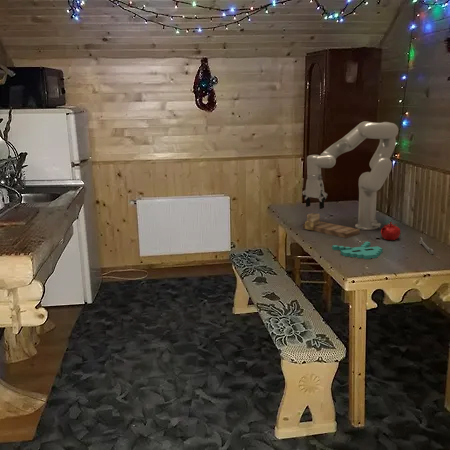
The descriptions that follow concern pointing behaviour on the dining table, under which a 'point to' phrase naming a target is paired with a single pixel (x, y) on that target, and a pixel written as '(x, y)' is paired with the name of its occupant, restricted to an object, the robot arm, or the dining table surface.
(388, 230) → the pomegranate
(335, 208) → the dining table surface
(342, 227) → the walnut board
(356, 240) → the dining table surface
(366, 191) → the robot arm
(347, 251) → the alien figure
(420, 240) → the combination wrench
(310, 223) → the tan cardboard box
